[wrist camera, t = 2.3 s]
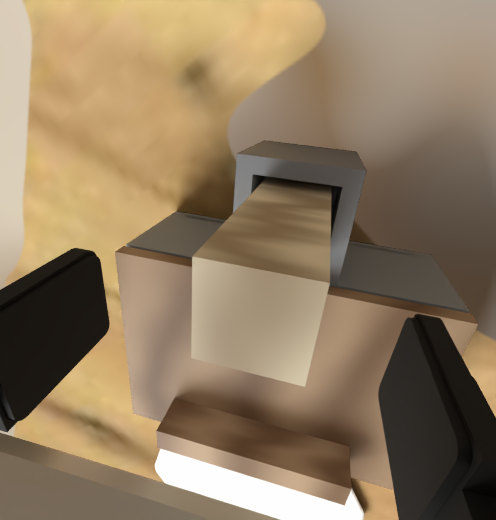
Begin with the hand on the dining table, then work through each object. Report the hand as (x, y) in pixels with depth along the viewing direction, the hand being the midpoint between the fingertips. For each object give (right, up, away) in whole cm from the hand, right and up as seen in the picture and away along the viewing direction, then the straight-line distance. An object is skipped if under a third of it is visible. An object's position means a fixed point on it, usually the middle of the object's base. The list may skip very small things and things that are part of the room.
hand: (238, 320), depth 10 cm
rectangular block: (+4, +6, +13) cm, 14 cm away
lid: (+2, -6, +14) cm, 15 cm away
